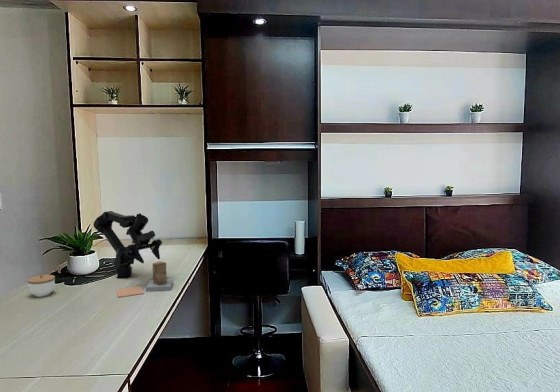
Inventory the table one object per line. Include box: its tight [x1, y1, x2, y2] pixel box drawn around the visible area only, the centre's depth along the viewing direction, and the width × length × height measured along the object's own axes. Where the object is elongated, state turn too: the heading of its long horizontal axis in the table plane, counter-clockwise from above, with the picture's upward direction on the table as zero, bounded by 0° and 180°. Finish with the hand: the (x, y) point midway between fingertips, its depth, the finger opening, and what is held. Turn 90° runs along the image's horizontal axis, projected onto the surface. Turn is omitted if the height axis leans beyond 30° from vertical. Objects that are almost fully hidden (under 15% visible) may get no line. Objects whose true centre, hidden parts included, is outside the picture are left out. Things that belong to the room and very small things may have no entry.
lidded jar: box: [27, 274, 56, 298], centre depth 183 cm, size 11×11×9 cm
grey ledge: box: [145, 278, 174, 292], centre depth 193 cm, size 11×11×2 cm
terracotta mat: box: [116, 285, 145, 298], centre depth 186 cm, size 11×11×1 cm
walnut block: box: [152, 261, 168, 285], centre depth 192 cm, size 4×4×10 cm
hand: (151, 260), depth 195 cm, fingers open, 9 cm apart
